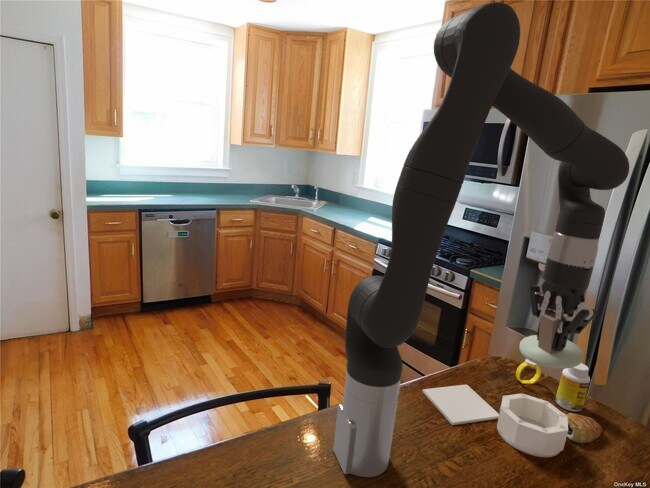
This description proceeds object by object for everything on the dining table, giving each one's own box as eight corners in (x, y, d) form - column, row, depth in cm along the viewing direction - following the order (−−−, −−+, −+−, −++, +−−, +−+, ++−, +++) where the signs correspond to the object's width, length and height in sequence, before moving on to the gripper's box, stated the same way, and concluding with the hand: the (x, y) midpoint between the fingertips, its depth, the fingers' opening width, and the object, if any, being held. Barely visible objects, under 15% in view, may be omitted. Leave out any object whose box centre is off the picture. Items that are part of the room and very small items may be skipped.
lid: (549, 374, 76) (552, 335, 74) (507, 345, 86) (509, 310, 84) (596, 360, 79) (601, 322, 77) (550, 333, 89) (553, 299, 87)
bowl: (526, 461, 79) (532, 436, 78) (484, 420, 90) (489, 397, 89) (575, 452, 83) (582, 427, 82) (530, 413, 94) (535, 391, 93)
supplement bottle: (574, 415, 95) (585, 374, 93) (550, 402, 99) (559, 362, 97) (586, 408, 98) (597, 368, 96) (562, 395, 103) (572, 357, 100)
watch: (532, 380, 109) (539, 359, 108) (539, 386, 106) (546, 365, 105) (511, 379, 108) (517, 357, 106) (518, 385, 105) (524, 363, 104)
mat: (452, 425, 88) (452, 422, 88) (422, 391, 99) (422, 389, 99) (500, 418, 92) (500, 415, 91) (466, 386, 103) (466, 384, 102)
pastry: (581, 419, 94) (586, 404, 93) (610, 440, 88) (615, 424, 87) (548, 425, 91) (553, 410, 90) (576, 447, 85) (580, 431, 84)
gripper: (525, 248, 83) (508, 330, 87) (588, 271, 70) (564, 365, 74) (555, 249, 85) (537, 328, 89) (621, 271, 72) (596, 362, 77)
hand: (549, 345), depth 82 cm, fingers closed on lid, 3 cm apart
